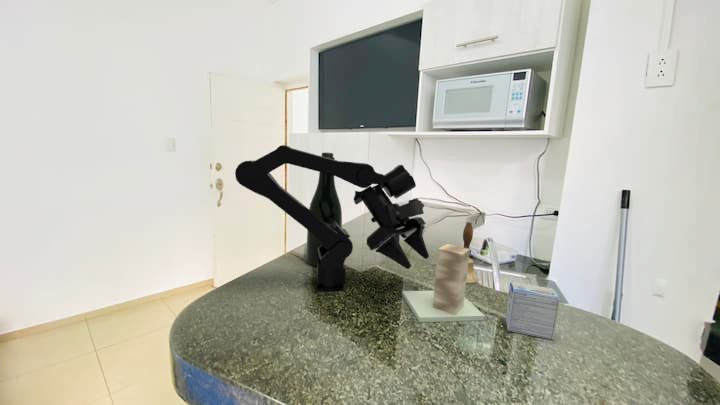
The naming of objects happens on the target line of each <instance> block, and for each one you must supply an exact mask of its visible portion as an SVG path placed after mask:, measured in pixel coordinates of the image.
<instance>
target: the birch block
mask: <svg viewBox="0 0 720 405" xmlns="http://www.w3.org/2000/svg"><path fill="white" fill-rule="evenodd" d="M470 249H471V248H469V249H467V248H464V246H458V245H453V244H448V243H447V244H444V245H443V246H440V247H439V248H438V249H437V257H436V258H437V260H436V269H435V278H434V279H435V280H434V281H435V282H434V288H433V291H434V299H433V308H436V309H439V310H442V311H445V312H448V313H450V314H453V315H457V313H458V312H459V311H460V310H461V309H462V308H463V307H464V298H466V297H465V296H466V285H467V283H466V280H467V271H468V262H469V258H470V252H471V250H470Z"/></svg>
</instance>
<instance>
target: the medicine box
mask: <svg viewBox="0 0 720 405" xmlns="http://www.w3.org/2000/svg"><path fill="white" fill-rule="evenodd" d="M508 289H509V290H508V293H507V294H508V296H507V305H506V309H505V310H506V312H505V323H506V327H507V328H506V329H507V331H509V332H514V333H518V334H523V335H528V336H533V337H538V338H542V339H546V340H547V339H548V340H552V341H554V340H555V332H556V329H557V328H556V326H557V320H558V314H559V309H560V303H561V297H559V295H558V293H557V292H556V291H555V290H554V288H550V287H546V286H539V285H534V284H533V285H532V284H528V283H520V282H514V281H510V282H509V288H508Z"/></svg>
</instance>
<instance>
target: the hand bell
mask: <svg viewBox="0 0 720 405" xmlns="http://www.w3.org/2000/svg"><path fill="white" fill-rule="evenodd" d="M473 228H474V227H473V224H472V222H469V221H467V222H466V224H465V226H464V228H463V231H462V239H463V240H462V241H463V248H467V249H470V246H471V243H472V241H473V236H474V229H473ZM479 282H480V279H479V276H478V275H477V274H476V271H475V268H474V260H473V259H472V258H470V257H469V262H468V271H467V280H466V284H476V283H479Z"/></svg>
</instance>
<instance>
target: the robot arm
mask: <svg viewBox="0 0 720 405" xmlns="http://www.w3.org/2000/svg"><path fill="white" fill-rule="evenodd" d="M284 164H288V165H293V166H295V167H299V168H304V169H307V170H312V171H315V172H318V173H319V172H322V173H326V174H330V175H334V177H336V178H339V179H341V180H343V181H344V182H345V181H346V182H347V183H349V184H352V185H354V186H356V187H358V188H360V189H362V190H360V191H359V190H355V191H354V196H353V202H354V204H355V205H358V204H360V203H362V202H363V204H364V205H365V207H366V209H367V210H368V211H369V212H370V214H371V216H372V218H371V219H370V220H371V222H372V223H377V226H379V227H377V229H375V230H374V231H373V232H372V233H370V235H369V236H367V237H366V245H367V246H368V248H369V249H370V251H374V250H375V253H380V254H382V255H383V256H385V257H387V258H388V259H390V260H392V261H394V262H396V263H397V264H399V265H400V266H402V267H403V268H404V269H407V270H409V269H410V268H411V267H412V264H411V262H410V260H409V258H408V256H407V255H406V253H405V251H404V249H403V247H402V246H401V245H400V237H401V238H403V241H404V243H406V244H407V245H408V247H410V248H411V249H413V250H414V251H415V252H416V253H417V254H418V255H420V256H421V257H422V259H424V260H426V259H428V258H430V255H429V252H428V248H427V246H426V243H425V241H424V240H425V239H424V236H423V234H424V229H425V225H426V222H425V220H424V219H423V218H422V216H421V217H420V215H423V214H425V213H424V208H425V204H424V203H423V202H422V200H419V199H418V198H417V197H416V198H412V199H408V202H407V203H405V204H401V205H400V204H399V203H393V202H392V201H391V200H390V198H392V197H393V198H394V199H398V198H400V197H401V196H403V195H405V194H406V193H408V192H410V191H411V190H413V189H415V188H416V186H417V185H416V181H415V179H414V177H413V175H411V174H410V172H409V171H408V170H407V169H406V168H405V166H404V165H402V164H398V165H396V166H395V167H394V168H393V169H392V170H390V171H389V172H386V173H385V174H383V173H378V172H376V170H375V168H374V167H373V165H371V164H369V163H363V162H354V161H345V160H336V159H335V160H333V159H329V158H326V157H322V155H317V154H314V153H311V152H306V151H303V150H300V149H297V148H293V147H290V146H289V145H283V144H282V145H279V146H278V147H277V148H276V149H275V150H272V151H270V152H269V153H267V154H265V155H263V156H261V157H260V158H257V159H256V160H245V161H241V163H239V164H238V165H237V167H236V169H235V172H234V173H235V180H236V181H237V183H238V184H239V185H241V186H242V187H244V188H245V189H247V190H249V191H251V192H253V193H255V194H257V195H260V196H262V197H263V198H266V199H268V200H269V201H271V202H272V203H273V204H275V206H277V207H278V208H279V209H280V210H282V211H283V212H284V213H285V214H287V215H289V217H291V218H292V219H293V220H294V221H296V222H297V223H298V224H299V225H301V226H302V227H304V228H305V229H306V231H307V230H308V231H310V232H311V233H312V234H314V235H315V236H316V237H317V239H318V240H319V241H320V243H321V244H322V245H321V246H320V247H319V248H318V253H319V257H320V259H318V265H317V266H316V268H317V270H316V279H315V281H316V282H315V283H316V291H343V290H344V285H346V266H345V265H344V263H345V261H346V259H347V258H349V257H350V256H351V254H352V253H353V249H354V247H353V242H352V240H351V238H350V237H351V236H350V234H349V233H348V231H347V230H346V229H345V228H343V227H342V228H341V227H340V226H339V225H338V224H337V223H336V222H335V221H333V223H332V224H331V225H330V224H328V223H326V222H324V221H323V220H321V219H320V218H319V217H318V216H316V215H315V214H314V213H313V212H312V211H310V210H309V208H308V207H307V206H305V205H304V204H303V203H302V202H300V201H299V200H298V198H296V197H295V196H293V194H291V193H290V192H288V191H287V189H285V188H284V187H282V186H281V185H280V184H279V183H278V181H277V180H276V179H275V177H274V176H273V175H272V173H271V172H272V171H275V170H276V169H277V168H279V167H281V166H283V165H284ZM372 185H374V186H372Z"/></svg>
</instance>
